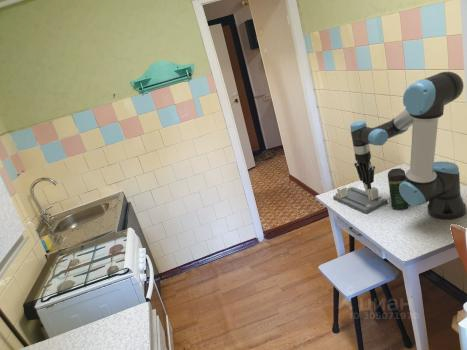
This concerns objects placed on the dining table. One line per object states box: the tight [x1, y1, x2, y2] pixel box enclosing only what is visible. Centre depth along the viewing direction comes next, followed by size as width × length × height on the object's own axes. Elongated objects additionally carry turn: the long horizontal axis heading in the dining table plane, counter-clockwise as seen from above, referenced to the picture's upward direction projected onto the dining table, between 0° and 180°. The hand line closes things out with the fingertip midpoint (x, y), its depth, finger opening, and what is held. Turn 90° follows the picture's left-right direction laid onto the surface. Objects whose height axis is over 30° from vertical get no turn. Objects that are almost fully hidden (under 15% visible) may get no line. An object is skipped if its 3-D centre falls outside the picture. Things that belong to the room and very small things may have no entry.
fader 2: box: [367, 186, 380, 200], centre depth 192 cm, size 3×4×5 cm
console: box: [332, 186, 389, 215], centre depth 198 cm, size 26×14×3 cm, turn 22°
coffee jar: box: [387, 167, 410, 211], centre depth 181 cm, size 10×8×19 cm
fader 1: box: [336, 185, 348, 198], centre depth 203 cm, size 3×4×5 cm
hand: (368, 194), depth 195 cm, fingers closed
